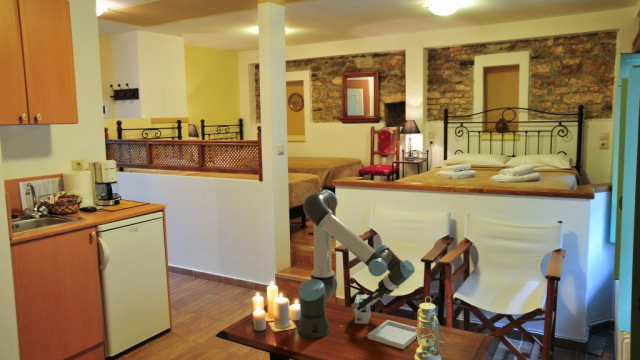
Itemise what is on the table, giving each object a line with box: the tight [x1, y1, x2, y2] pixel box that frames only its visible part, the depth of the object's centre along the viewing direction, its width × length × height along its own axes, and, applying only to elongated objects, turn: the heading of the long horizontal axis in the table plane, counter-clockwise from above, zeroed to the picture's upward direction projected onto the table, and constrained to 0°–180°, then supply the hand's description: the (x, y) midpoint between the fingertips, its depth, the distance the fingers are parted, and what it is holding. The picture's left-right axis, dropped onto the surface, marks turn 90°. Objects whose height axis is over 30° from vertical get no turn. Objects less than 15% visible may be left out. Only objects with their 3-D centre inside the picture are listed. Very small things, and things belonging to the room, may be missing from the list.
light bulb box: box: [353, 294, 371, 325], centre depth 245 cm, size 11×7×11 cm, turn 168°
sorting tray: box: [367, 319, 417, 350], centre depth 227 cm, size 18×18×2 cm
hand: (362, 307), depth 245 cm, fingers open, 13 cm apart
